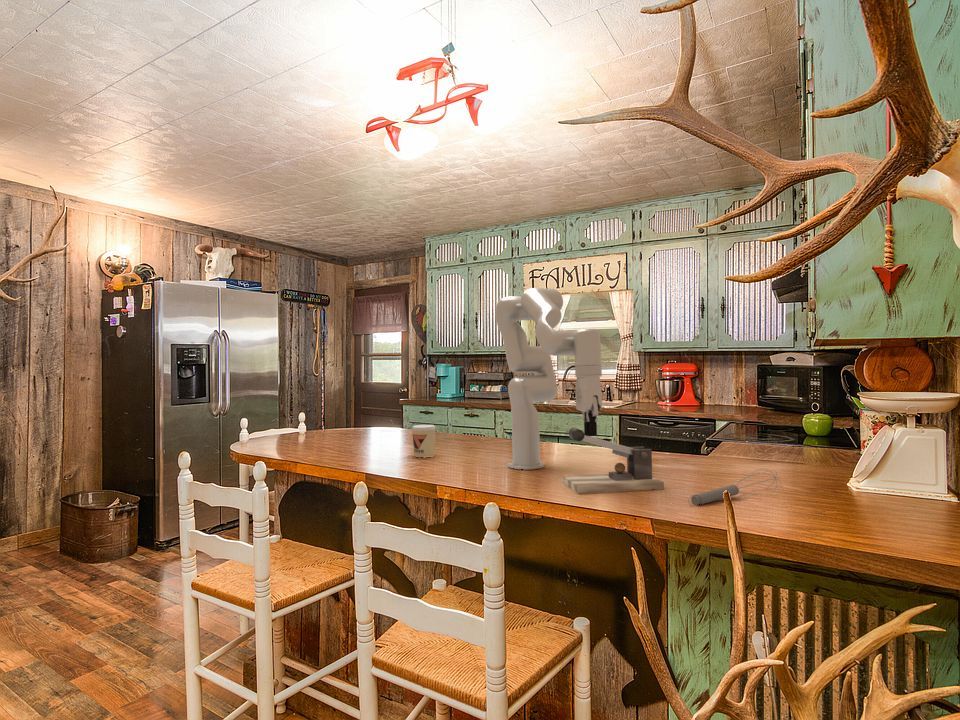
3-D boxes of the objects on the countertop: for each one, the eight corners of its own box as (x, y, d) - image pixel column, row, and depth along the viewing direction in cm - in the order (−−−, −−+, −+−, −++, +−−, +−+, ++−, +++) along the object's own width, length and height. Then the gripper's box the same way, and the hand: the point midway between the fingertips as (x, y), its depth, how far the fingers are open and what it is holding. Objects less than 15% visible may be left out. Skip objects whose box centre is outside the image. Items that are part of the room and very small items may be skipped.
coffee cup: (407, 457, 213) (406, 426, 213) (424, 453, 221) (424, 424, 221) (424, 459, 207) (423, 428, 207) (441, 455, 214) (440, 425, 214)
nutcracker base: (563, 482, 163) (562, 447, 163) (642, 478, 167) (641, 444, 167) (578, 494, 149) (577, 455, 149) (664, 488, 153) (663, 451, 153)
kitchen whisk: (679, 504, 138) (678, 479, 138) (766, 488, 153) (765, 466, 153) (698, 510, 132) (698, 484, 132) (787, 493, 147) (786, 469, 147)
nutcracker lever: (566, 439, 159) (570, 426, 159) (637, 459, 162) (640, 446, 162) (571, 442, 154) (575, 428, 154) (644, 462, 157) (648, 449, 157)
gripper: (567, 372, 164) (570, 433, 163) (584, 372, 149) (586, 439, 149) (591, 371, 165) (594, 432, 164) (610, 371, 150) (613, 438, 150)
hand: (590, 435), depth 157 cm, fingers closed
